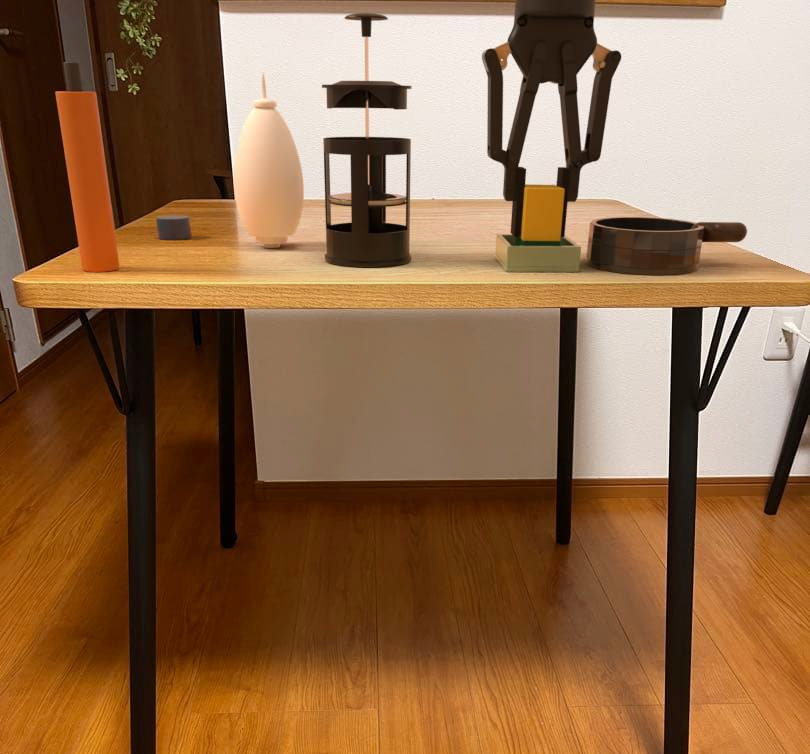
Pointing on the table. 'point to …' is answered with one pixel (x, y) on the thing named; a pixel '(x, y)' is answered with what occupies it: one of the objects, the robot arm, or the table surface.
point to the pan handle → (722, 231)
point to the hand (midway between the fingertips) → (537, 234)
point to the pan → (644, 245)
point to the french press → (367, 174)
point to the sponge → (541, 216)
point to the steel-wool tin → (173, 227)
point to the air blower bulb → (268, 175)
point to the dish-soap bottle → (87, 173)
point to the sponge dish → (537, 256)
